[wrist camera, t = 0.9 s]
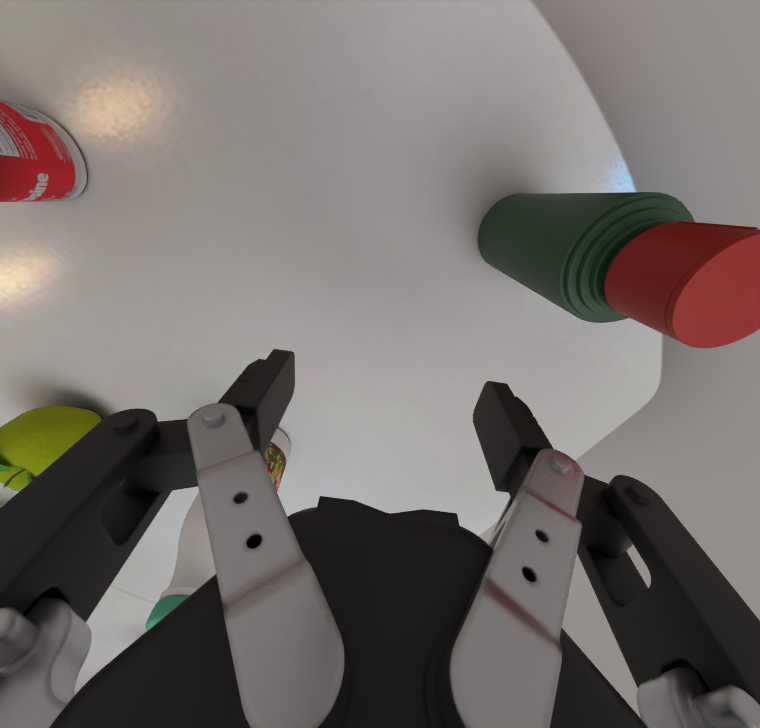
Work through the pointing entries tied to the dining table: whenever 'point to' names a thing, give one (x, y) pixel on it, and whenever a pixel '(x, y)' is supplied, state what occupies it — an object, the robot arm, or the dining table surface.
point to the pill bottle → (37, 158)
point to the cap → (690, 282)
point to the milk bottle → (207, 539)
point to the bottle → (571, 242)
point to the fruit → (40, 441)
